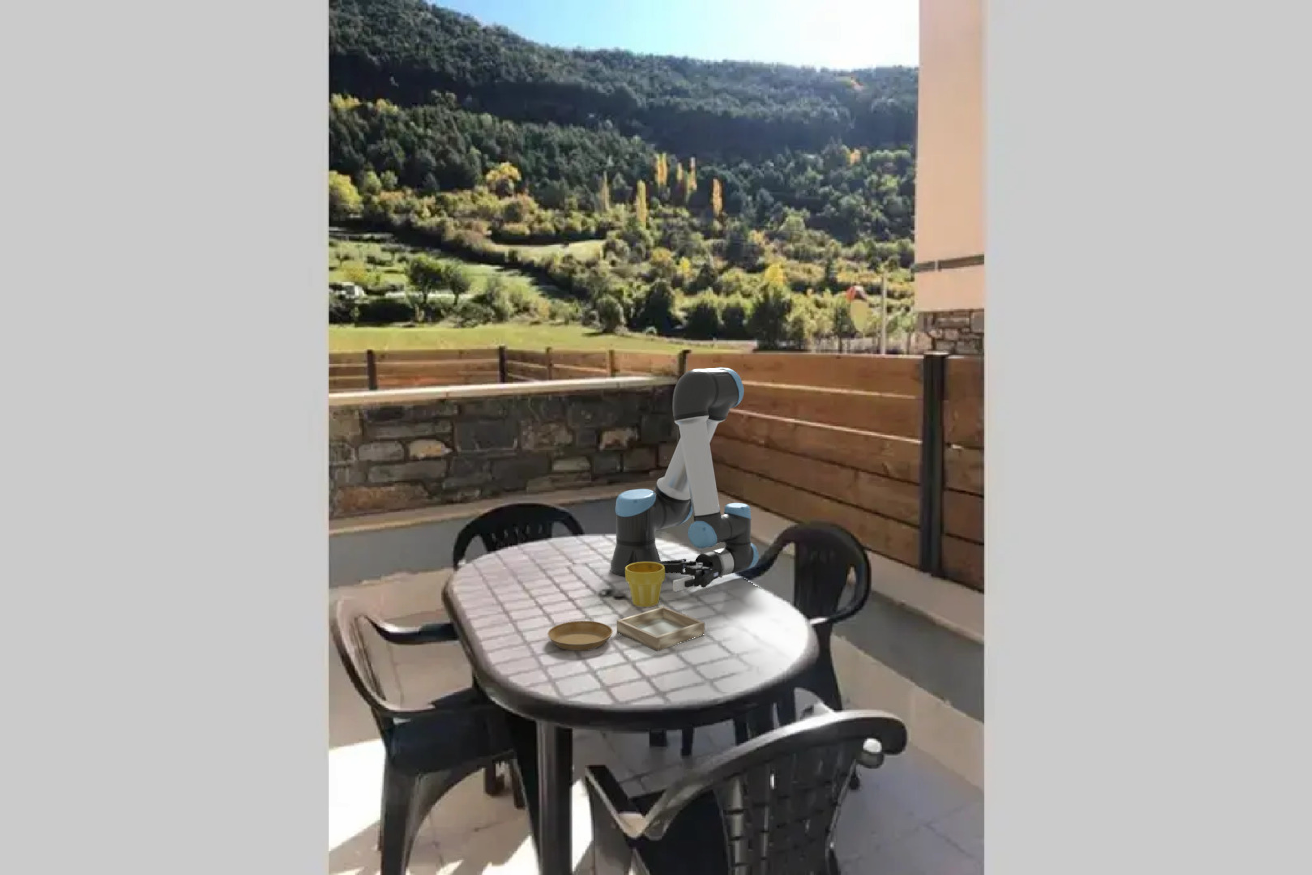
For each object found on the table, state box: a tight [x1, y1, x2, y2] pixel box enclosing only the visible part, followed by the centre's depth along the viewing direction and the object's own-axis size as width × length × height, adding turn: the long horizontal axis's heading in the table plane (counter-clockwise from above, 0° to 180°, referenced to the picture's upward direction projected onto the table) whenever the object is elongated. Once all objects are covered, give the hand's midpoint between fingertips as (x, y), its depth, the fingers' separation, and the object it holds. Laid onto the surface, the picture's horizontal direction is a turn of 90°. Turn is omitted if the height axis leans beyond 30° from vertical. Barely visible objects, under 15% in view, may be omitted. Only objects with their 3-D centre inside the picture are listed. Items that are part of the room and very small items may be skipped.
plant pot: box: [624, 562, 666, 608], centre depth 208 cm, size 10×10×10 cm
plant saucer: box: [547, 620, 614, 652], centre depth 183 cm, size 15×15×3 cm
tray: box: [616, 606, 706, 652], centre depth 187 cm, size 15×15×3 cm
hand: (656, 580), depth 209 cm, fingers open, 13 cm apart
